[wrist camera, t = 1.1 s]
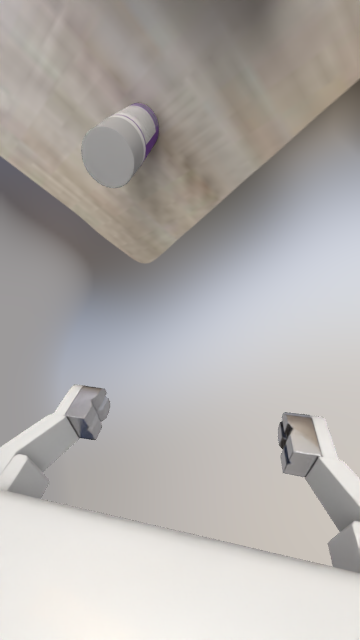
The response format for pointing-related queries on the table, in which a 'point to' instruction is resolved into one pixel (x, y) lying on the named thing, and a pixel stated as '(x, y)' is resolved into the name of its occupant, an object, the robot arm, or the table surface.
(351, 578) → the robot arm
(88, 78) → the table surface
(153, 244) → the table surface
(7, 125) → the table surface
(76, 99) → the table surface
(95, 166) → the container
